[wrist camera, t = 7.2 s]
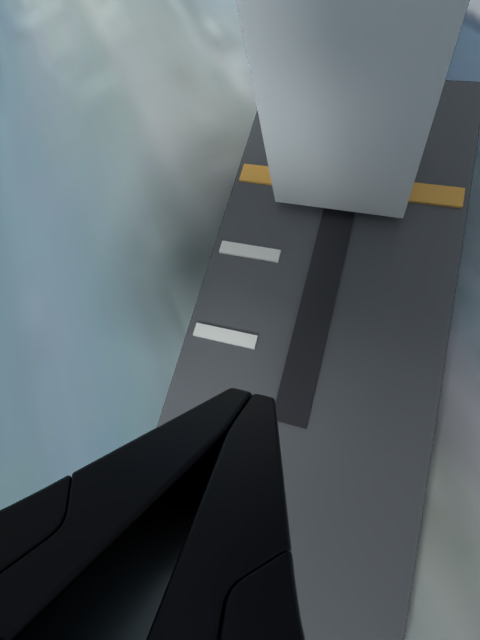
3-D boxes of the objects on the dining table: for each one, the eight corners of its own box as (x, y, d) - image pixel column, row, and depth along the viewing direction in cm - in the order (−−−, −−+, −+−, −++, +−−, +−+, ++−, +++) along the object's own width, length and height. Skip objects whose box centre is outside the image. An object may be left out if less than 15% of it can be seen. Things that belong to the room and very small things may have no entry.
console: (391, 665, 13) (397, 686, 12) (127, 563, 15) (109, 571, 14) (476, 105, 18) (487, 80, 17) (272, 92, 21) (269, 68, 20)
